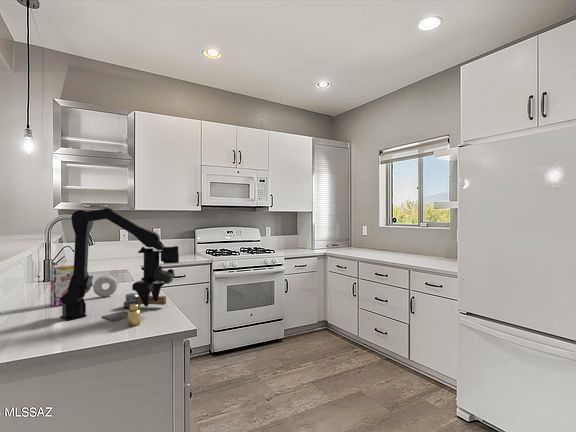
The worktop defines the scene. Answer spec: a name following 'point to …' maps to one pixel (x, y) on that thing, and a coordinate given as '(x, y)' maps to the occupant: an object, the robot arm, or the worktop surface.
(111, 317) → the rubber mat
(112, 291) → the donut
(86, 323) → the worktop surface
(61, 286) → the candy bar box
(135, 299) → the hammer
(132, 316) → the brass calibration weight
